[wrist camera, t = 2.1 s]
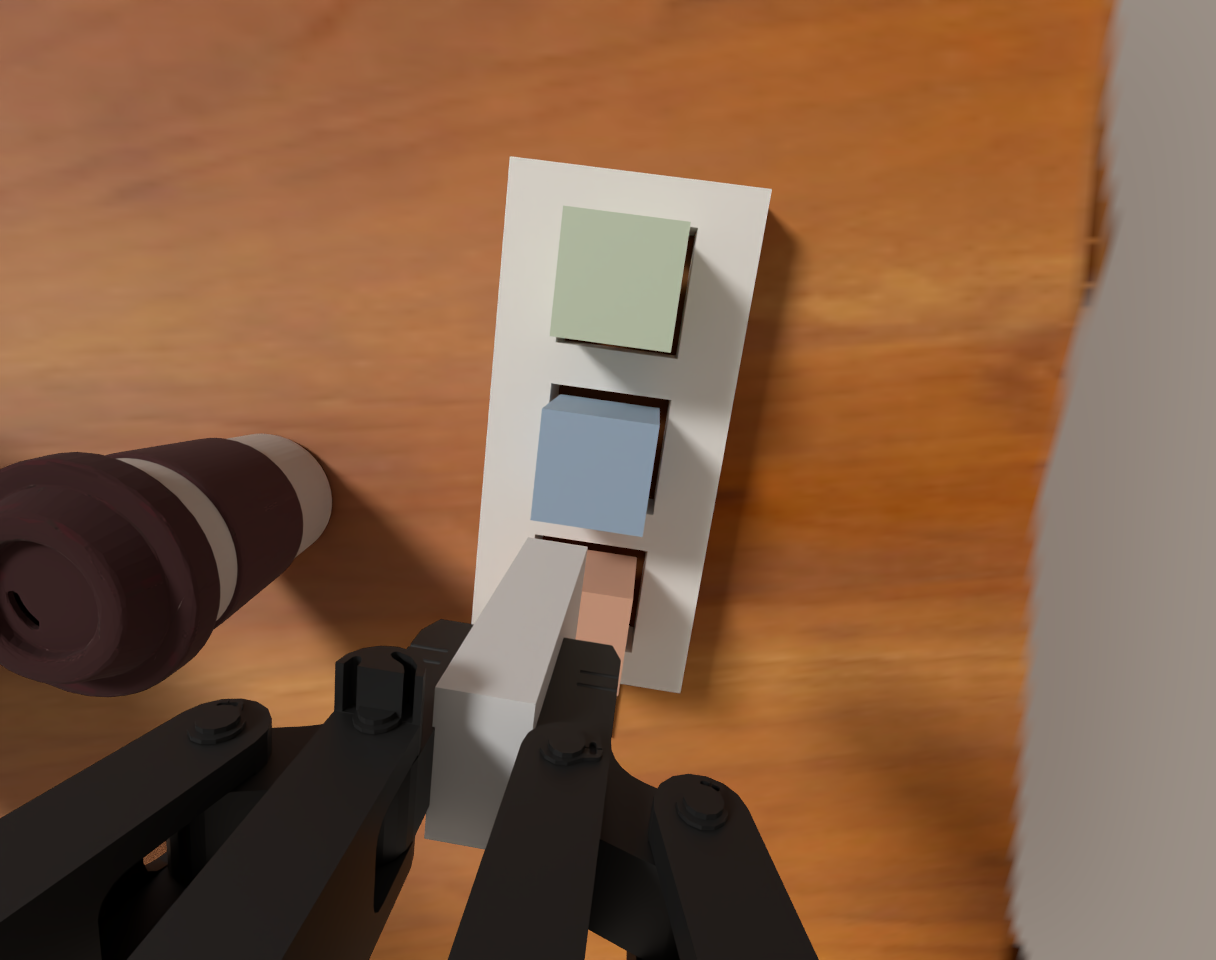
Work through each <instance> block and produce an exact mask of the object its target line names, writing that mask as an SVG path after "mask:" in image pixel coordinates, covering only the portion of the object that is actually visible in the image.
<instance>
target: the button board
mask: <svg viewBox="0 0 1216 960" xmlns="http://www.w3.org/2000/svg"><path fill="white" fill-rule="evenodd" d="M771 192H772V189H766V188H758V187H751V186H743V185H735V184H727V183H719V182H711V181H703V180H695V179H687V178H679V177H671V176H663V175H655V174H647V173H639V172H631V171H623V170H615V169H607V168H599V167H591V166H583V165H575V164H567V163H559V162H551V161H543V160H535V159H527V158H519V157H511V156H510V162H509V174H508V186H507V198H506V210H505V223H504V235H503V247H502V259H501V271H500V283H499V295H498V307H497V319H496V332H495V344H494V356H493V368H492V380H491V392H490V404H489V416H488V428H487V441H486V453H485V465H484V477H483V489H482V501H481V513H480V525H479V538H478V550H477V562H476V574H475V586H474V598H473V610H472V622H471V624H475V622H476V620H477V619H478V617H479V616H480V614H481V612H482V611H483V609H484V607H485V606H486V604H487V603H488V601H489V599H490V598H491V596H492V595H493V593H494V591H495V590H496V588H497V586H498V585H499V583H500V582H501V580H502V578H503V577H504V575H505V574H506V572H507V570H508V569H509V567H510V565H511V564H512V562H513V561H514V559H515V557H516V556H517V554H518V553H519V551H520V549H521V548H522V546H523V545H524V543H525V541H526V540H527V538H528V537H529V538H536V539H542V540H543V535H544V536H550V537H557V538H564V539H570V540H577V541H583V542H590V543H597V544H603V545H610V546H616V547H623V548H630V549H636V550H643V551H646V552H645V559H644V565H643V571H642V578H641V584H640V591H639V597H638V604H637V610H636V616H635V623H634V627H630V626H629V629H628V635H627V642H626V648H625V655H624V661H623V668H622V674H621V681H620V684H625V685H631V686H637V687H644V688H650V689H656V690H662V691H668V692H675V693H680V692H681V687H682V681H683V676H684V670H685V665H686V659H687V654H688V648H689V643H690V637H691V632H692V626H693V621H694V615H695V610H696V604H697V599H698V593H699V588H700V582H701V577H702V571H703V566H704V560H705V555H706V549H707V544H708V538H709V533H710V527H711V522H712V516H713V511H714V505H715V500H716V494H717V489H718V483H719V478H720V472H721V467H722V461H723V456H724V450H725V445H726V439H727V434H728V428H729V423H730V417H731V412H732V406H733V401H734V395H735V390H736V384H737V379H738V373H739V368H740V362H741V357H742V351H743V346H744V340H745V335H746V329H747V324H748V318H749V313H750V307H751V302H752V296H753V291H754V285H755V280H756V274H757V269H758V263H759V258H760V252H761V247H762V241H763V236H764V230H765V225H766V219H767V214H768V208H769V203H770V197H771ZM563 206H571V207H578V208H586V209H594V210H602V211H610V212H617V213H625V214H633V215H641V216H649V217H656V218H664V219H672V220H680V221H688V222H691V224H690V231H689V235H691V236H695V237H694V244H693V250H692V257H691V263H690V269H689V276H688V282H687V289H686V295H685V301H684V308H683V314H682V321H681V327H680V334H679V340H678V346H677V353H676V356H675V355H667V354H660V353H653V352H646V351H638V350H631V349H624V348H617V347H609V346H602V345H595V344H587V343H580V342H573V341H566V340H565V338H560V337H552V336H550V327H551V317H552V308H553V298H554V289H555V279H556V269H557V260H558V250H559V241H560V231H561V221H562V212H563ZM559 385H567V386H574V387H582V388H589V389H596V390H603V391H610V392H617V393H624V394H631V395H638V396H646V397H653V398H660V399H667V400H669V404H668V411H667V417H666V424H665V430H664V436H663V443H662V449H661V456H660V462H659V469H658V475H657V481H656V488H655V494H654V499H649V498H648V505H647V511H646V518H645V524H644V531H643V537H639V536H632V535H626V534H619V533H612V532H606V531H599V530H592V529H586V528H579V527H572V526H566V525H559V524H553V523H546V522H539V521H533V520H530V519H531V509H532V500H533V490H534V481H535V471H536V461H537V452H538V442H539V433H540V423H541V413H542V408H543V407H545V406H546V405H547V404H548V403H550V402H551V401H552V400H554V399H555V398H556V397H558V395H559Z"/></svg>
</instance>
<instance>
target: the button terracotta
mask: <svg viewBox="0 0 1216 960" xmlns="http://www.w3.org/2000/svg"><path fill="white" fill-rule="evenodd" d="M636 562H637V557H632V556H626V555H619V554H612V553H606V552H599V551H593V550H587V557H586V564H585V572H584V579H583V587H582V594H581V602H580V609H579V617H578V624H577V632H576V640H582V641H589V642H595V643H601V644H607V645H612V646H613V647H614V649H615V651H616V653H617V654H618V656H619V658H620V660H621V664H620V672H619V681H618V689H617V696H618V694H619V687H620V681H621V674H622V668H623V661H624V655H625V648H626V642H627V635H628V629H629V622H630V616H631V609H632V603H633V594H634V583H635V573H636Z"/></svg>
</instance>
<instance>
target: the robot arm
mask: <svg viewBox="0 0 1216 960" xmlns="http://www.w3.org/2000/svg"><path fill="white" fill-rule="evenodd" d="M587 549H588V547H587V546H580V545H574V544H567V543H561V542H555V541H548V540H542V539H536V538H529V537H528V538H527V540H526V541H525V543H524V545H523V546H522V548H521V549H520V551H519V553H518V554H517V556H516V557H515V559H514V561H513V562H512V564H511V565H510V567H509V569H508V570H507V572H506V574H505V575H504V577H503V578H502V580H501V582H500V583H499V585H498V586H497V588H496V590H495V591H494V593H493V595H492V596H491V598H490V599H489V601H488V603H487V604H486V606H485V607H484V609H483V611H482V612H481V614H480V616H479V617H478V619H477V620H476V622H475V624H467V623H461V622H455V621H449V620H443V619H440V620H439V621H437V622H435V623H433V624H431V625H429V626H428V627H426V628H424V629H422V630H421V631H420V633H419V634H418V635H417V636H416V638H415V639H414V640H413V642H412V643H411V645H410V647H408V648H407V649H403V648H400V647H392V646H375V647H368V648H362V649H359V650H357V651H354V652H351V653H348V654H346V655H345V656H343V657H342V658H341V659H339V660H338V661H336V664H335V705H334V712H333V713H332V714H331V715H330V717H329V718H328V719H327V720H326V721H325V723H324V724H321V725H312V726H302V727H282V728H272V718H271V716H270V713H269V710H268V708H266V707H264V706H263V705H261V704H260V703H258V702H256V701H251V700H246V699H221V700H217V701H213V702H208V703H204V704H201V705H198V706H196V707H194V708H192V709H189V710H187V711H185V712H183V713H181V714H179V715H177V716H176V717H174V718H172V719H171V720H169V721H167V722H165V723H164V724H162V725H160V726H158V727H157V728H155V729H153V730H152V731H150V732H148V733H146V734H145V735H143V736H141V737H140V738H138V739H136V740H134V741H133V742H131V743H129V744H128V745H126V746H124V747H122V748H121V749H119V750H117V751H115V752H114V753H112V754H110V755H109V756H107V757H105V758H103V759H102V760H100V761H98V762H97V763H95V764H93V765H91V766H90V767H88V768H86V769H84V770H83V771H81V772H79V773H78V774H76V775H74V776H72V777H71V778H69V779H67V780H66V781H64V782H62V783H60V784H59V785H57V786H55V787H54V788H52V789H50V790H48V791H47V792H45V793H43V794H41V795H40V796H38V797H36V798H35V799H33V800H31V801H29V802H28V803H26V804H24V805H23V806H21V807H19V808H17V809H16V810H14V811H12V812H11V813H9V814H7V815H5V816H4V817H2V818H0V960H369V958H370V956H371V954H372V952H373V950H374V947H375V945H376V943H377V941H378V939H379V936H380V934H381V932H382V930H383V928H384V925H385V923H386V921H387V919H388V917H389V914H390V912H391V910H392V908H393V906H394V904H395V901H396V899H397V897H398V895H399V893H400V890H401V888H402V886H403V884H404V882H405V879H406V877H407V875H408V873H409V871H410V869H411V865H412V860H413V856H414V844H415V835H416V833H417V830H418V828H419V826H420V824H421V822H422V820H423V818H424V816H425V814H426V823H425V837H424V838H425V839H430V840H436V841H441V842H447V843H452V844H458V845H463V846H469V847H474V848H480V849H485V852H484V854H483V857H482V860H481V863H480V866H479V869H478V872H477V875H476V878H475V881H474V884H473V887H472V890H471V893H470V896H469V899H468V902H467V905H466V907H465V910H464V913H463V916H462V919H461V922H460V925H459V928H458V931H457V934H456V937H455V940H454V943H453V946H452V949H451V952H450V955H449V958H448V960H584V959H585V951H586V943H587V935H588V929H589V930H590V931H592V932H594V933H596V934H598V935H599V936H601V937H603V938H605V939H607V940H608V941H610V942H612V943H614V944H616V945H617V946H619V947H621V948H623V949H625V950H626V951H627V960H819V959H818V957H817V955H816V953H815V951H814V949H813V947H812V944H811V942H810V940H809V938H808V936H807V934H806V932H805V929H804V927H803V925H802V923H801V921H800V919H799V917H798V915H797V912H796V910H795V908H794V906H793V904H792V902H791V900H790V897H789V895H788V893H787V891H786V889H785V887H784V885H783V882H782V880H781V878H780V876H779V874H778V872H777V870H776V868H775V865H774V863H773V861H772V859H771V857H770V855H769V853H768V850H767V848H766V846H765V844H764V842H763V840H762V838H761V836H760V833H759V831H758V829H757V827H756V825H755V823H754V821H753V818H752V816H751V814H750V812H749V810H748V808H747V807H746V805H745V804H744V802H743V801H742V800H741V798H740V797H739V795H738V794H736V793H735V792H734V791H732V790H731V789H730V788H728V787H727V786H726V785H724V784H723V783H721V782H718V781H716V780H713V779H711V778H709V777H706V776H700V775H693V774H685V775H678V776H672V777H671V778H669V779H667V780H666V781H664V782H662V783H661V784H660V785H659V787H658V789H657V788H655V787H653V786H650V785H648V784H646V783H644V782H642V781H640V780H638V779H636V778H634V777H633V776H631V775H630V774H629V773H628V772H626V771H625V770H624V769H623V768H622V767H621V766H620V765H619V763H618V762H617V761H616V759H615V757H614V755H613V752H612V750H611V737H612V729H613V721H614V713H615V705H616V697H617V689H618V681H619V672H620V664H621V660H620V658H619V656H618V654H617V653H616V651H615V649H614V647H613V646H612V645H607V644H601V643H595V642H589V641H582V640H576V632H577V624H578V617H579V609H580V602H581V594H582V587H583V579H584V572H585V564H586V557H587ZM165 841H166V843H167V852H166V853H164V854H163V855H162V856H160V857H159V858H158V859H156V860H154V861H152V862H151V863H149V864H147V865H144V863H143V858H144V857H145V856H146V855H147V854H149V853H150V852H151V851H153V850H154V849H155V848H157V847H158V846H159V845H161V844H162V843H163V842H165Z"/></svg>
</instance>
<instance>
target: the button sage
mask: <svg viewBox="0 0 1216 960" xmlns="http://www.w3.org/2000/svg"><path fill="white" fill-rule="evenodd" d="M690 224H691V222H688V221H680V220H672V219H664V218H656V217H649V216H641V215H633V214H625V213H617V212H610V211H602V210H594V209H586V208H578V207H571V206H563V212H562V221H561V231H560V241H559V250H558V260H557V269H556V279H555V289H554V298H553V308H552V317H551V327H550V336H552V337H560V338H567V339H574V340H582V341H589V342H596V343H603V344H611V345H618V346H625V347H633V348H640V349H647V350H654V351H662V352H669V353H671V348H672V342H673V335H674V329H675V322H676V316H677V309H678V303H679V296H680V289H681V283H682V276H683V270H684V263H685V257H686V250H687V244H688V237H689V231H690Z"/></svg>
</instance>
